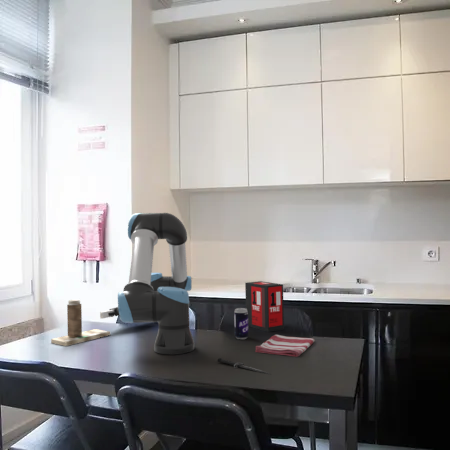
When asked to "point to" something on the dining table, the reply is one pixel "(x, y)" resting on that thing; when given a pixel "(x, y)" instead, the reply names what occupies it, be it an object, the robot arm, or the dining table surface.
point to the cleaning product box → (265, 305)
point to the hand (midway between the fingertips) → (101, 315)
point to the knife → (240, 365)
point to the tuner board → (86, 337)
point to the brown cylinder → (74, 318)
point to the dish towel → (285, 345)
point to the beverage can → (241, 323)
